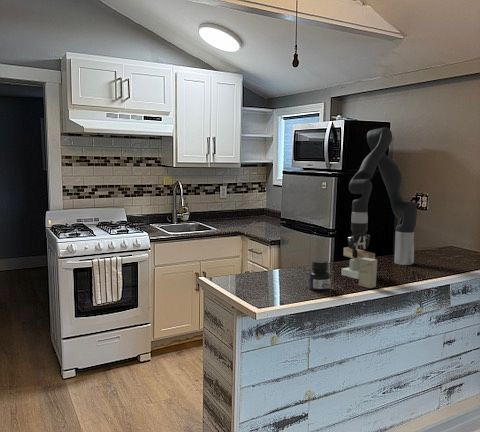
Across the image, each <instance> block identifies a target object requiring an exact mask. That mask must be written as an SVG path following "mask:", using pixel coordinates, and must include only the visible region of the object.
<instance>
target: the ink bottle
mask: <svg viewBox="0 0 480 432" xmlns="http://www.w3.org/2000/svg"><path fill="white" fill-rule="evenodd" d="M328 268H329V261H328V260H326V259H312V260H311V271H310V272H308V288H309V290H312V291H315V292H327V291H329V290H330V289H331V274H330V272H329V271H328Z"/></svg>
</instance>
